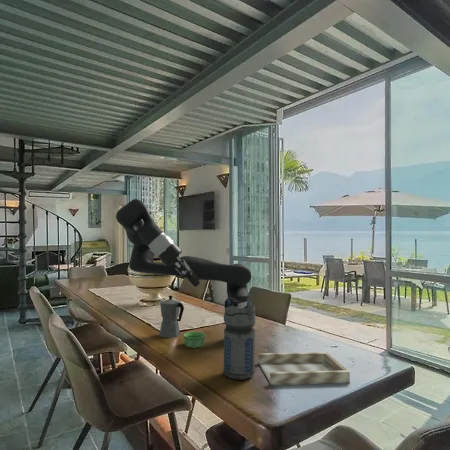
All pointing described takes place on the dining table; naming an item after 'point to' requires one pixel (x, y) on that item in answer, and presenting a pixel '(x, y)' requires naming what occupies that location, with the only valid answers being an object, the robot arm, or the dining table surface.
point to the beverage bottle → (239, 339)
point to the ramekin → (194, 339)
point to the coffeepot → (170, 317)
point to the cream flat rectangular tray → (302, 368)
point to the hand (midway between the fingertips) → (197, 283)
